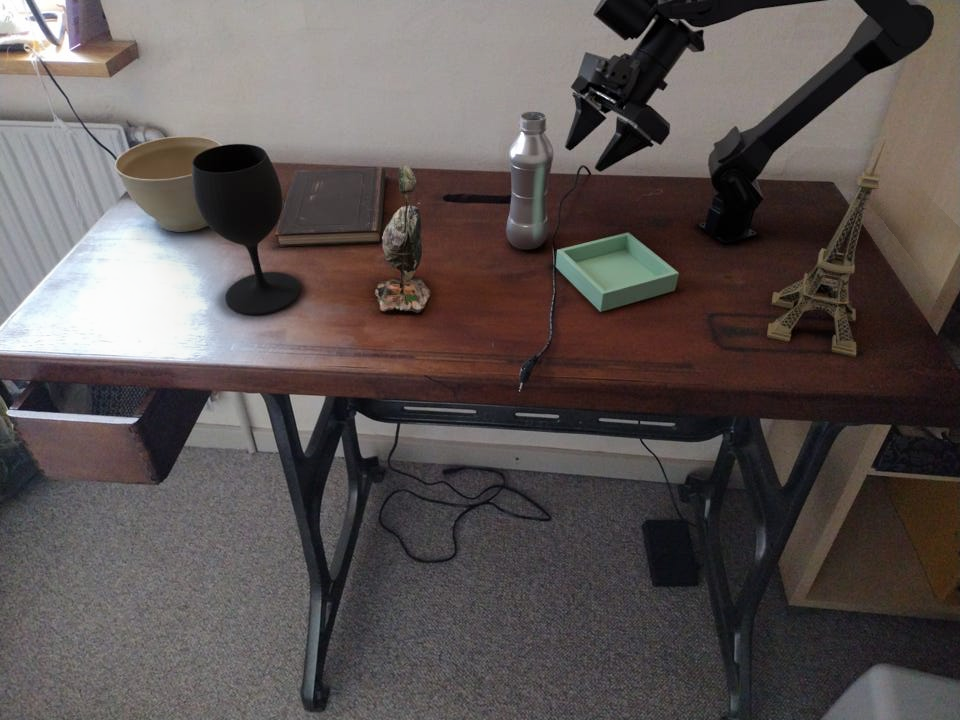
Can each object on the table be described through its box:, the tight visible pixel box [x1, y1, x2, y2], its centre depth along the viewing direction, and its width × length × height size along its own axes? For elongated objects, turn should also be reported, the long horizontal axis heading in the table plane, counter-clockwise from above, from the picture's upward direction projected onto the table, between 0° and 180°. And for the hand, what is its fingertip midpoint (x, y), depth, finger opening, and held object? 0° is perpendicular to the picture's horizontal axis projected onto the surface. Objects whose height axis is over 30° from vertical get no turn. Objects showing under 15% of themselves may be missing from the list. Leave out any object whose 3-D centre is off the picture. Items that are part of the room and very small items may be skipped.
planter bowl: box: [114, 135, 223, 233], centre depth 107 cm, size 16×16×11 cm
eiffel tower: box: [766, 139, 886, 358], centre depth 81 cm, size 11×11×25 cm
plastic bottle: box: [505, 110, 555, 251], centre depth 98 cm, size 6×7×20 cm
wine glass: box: [192, 143, 302, 317], centre depth 88 cm, size 10×10×20 cm
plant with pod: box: [374, 164, 431, 314], centre depth 88 cm, size 8×11×20 cm
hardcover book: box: [274, 166, 386, 248], centre depth 112 cm, size 16×23×2 cm
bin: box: [555, 232, 680, 313], centre depth 96 cm, size 12×12×3 cm
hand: (581, 159), depth 97 cm, fingers open, 9 cm apart
